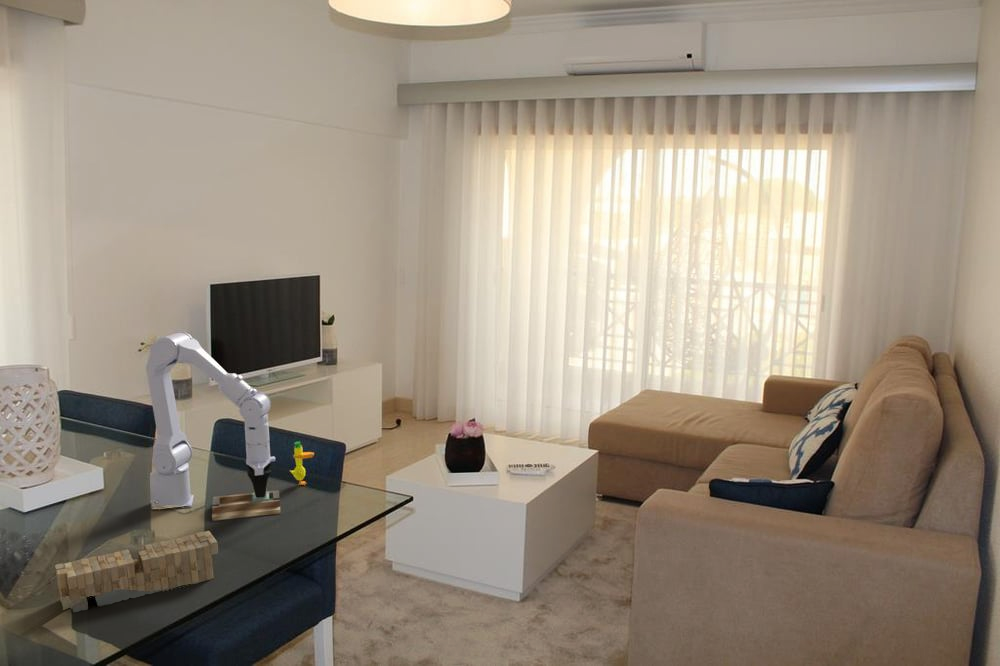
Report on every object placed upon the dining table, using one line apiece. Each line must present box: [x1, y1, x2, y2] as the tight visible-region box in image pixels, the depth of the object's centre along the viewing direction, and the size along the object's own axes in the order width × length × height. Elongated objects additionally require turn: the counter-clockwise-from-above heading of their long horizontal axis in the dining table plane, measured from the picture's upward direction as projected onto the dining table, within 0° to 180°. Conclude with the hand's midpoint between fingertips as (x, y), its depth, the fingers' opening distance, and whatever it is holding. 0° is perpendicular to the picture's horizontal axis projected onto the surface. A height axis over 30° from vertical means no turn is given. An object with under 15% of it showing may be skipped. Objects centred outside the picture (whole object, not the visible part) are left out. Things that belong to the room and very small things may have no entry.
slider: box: [252, 487, 269, 502], centre depth 212 cm, size 4×5×5 cm
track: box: [211, 490, 281, 521], centre depth 212 cm, size 16×12×3 cm
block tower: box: [54, 530, 219, 601], centre depth 168 cm, size 8×8×29 cm
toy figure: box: [289, 441, 315, 486], centre depth 228 cm, size 7×4×12 cm, turn 109°
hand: (260, 494), depth 212 cm, fingers open, 4 cm apart
